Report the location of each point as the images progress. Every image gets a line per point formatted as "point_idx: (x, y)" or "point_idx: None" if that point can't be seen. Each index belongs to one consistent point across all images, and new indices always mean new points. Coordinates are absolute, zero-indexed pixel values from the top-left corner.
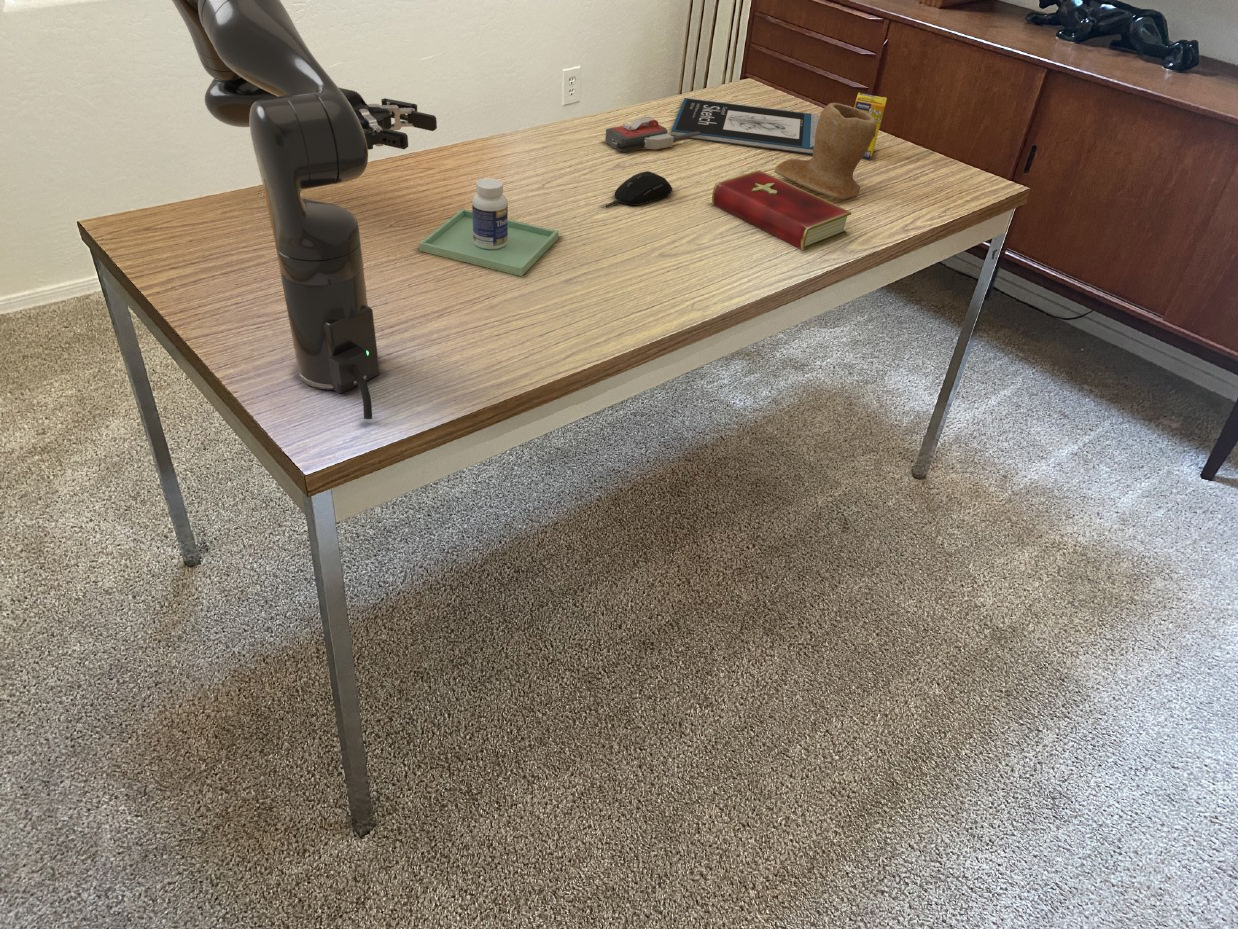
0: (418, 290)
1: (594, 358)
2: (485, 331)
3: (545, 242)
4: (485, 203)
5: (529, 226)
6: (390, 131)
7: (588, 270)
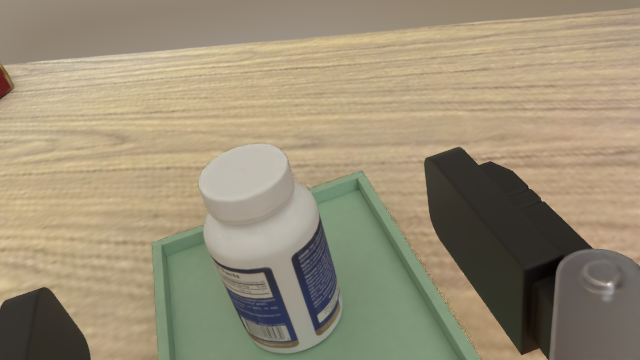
0: (627, 239)
1: (457, 28)
2: (564, 97)
3: None
4: (302, 187)
5: (165, 294)
6: (514, 209)
7: None
